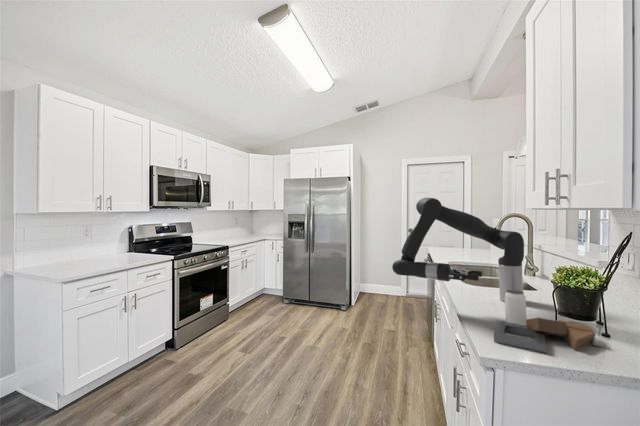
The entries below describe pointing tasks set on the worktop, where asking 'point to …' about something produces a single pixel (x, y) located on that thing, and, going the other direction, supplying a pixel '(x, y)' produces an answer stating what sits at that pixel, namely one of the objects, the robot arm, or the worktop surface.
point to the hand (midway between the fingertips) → (480, 275)
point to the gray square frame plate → (519, 341)
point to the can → (515, 307)
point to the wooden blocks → (566, 332)
